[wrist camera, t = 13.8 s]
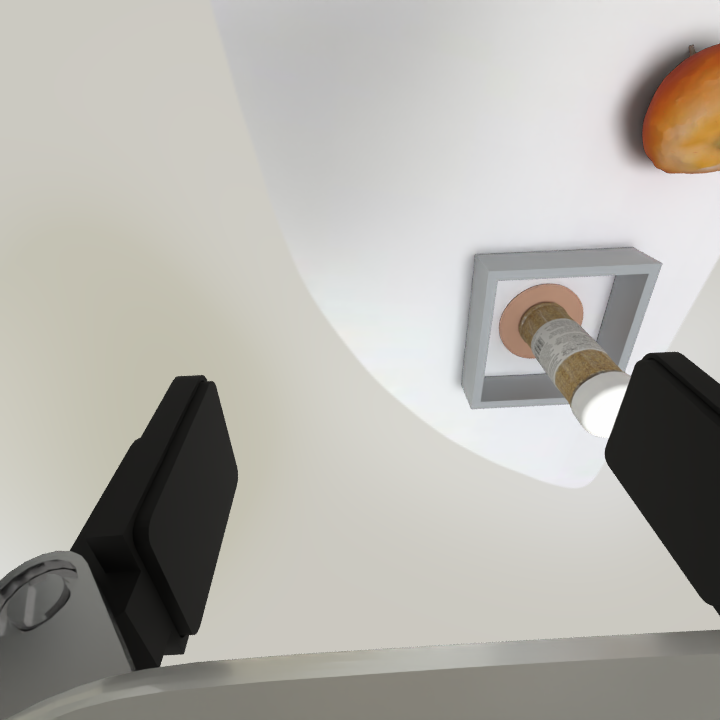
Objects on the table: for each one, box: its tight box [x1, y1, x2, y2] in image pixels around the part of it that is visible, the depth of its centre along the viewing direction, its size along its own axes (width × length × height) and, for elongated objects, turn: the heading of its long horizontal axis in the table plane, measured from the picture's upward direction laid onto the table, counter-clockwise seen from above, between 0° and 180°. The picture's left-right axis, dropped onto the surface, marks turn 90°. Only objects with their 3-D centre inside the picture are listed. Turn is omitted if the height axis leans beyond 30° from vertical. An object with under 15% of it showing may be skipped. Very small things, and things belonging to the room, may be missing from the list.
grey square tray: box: [461, 247, 662, 409], centre depth 39 cm, size 14×14×4 cm
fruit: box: [642, 44, 720, 174], centre depth 29 cm, size 8×8×8 cm
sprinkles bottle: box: [519, 302, 631, 438], centre depth 35 cm, size 5×5×13 cm
